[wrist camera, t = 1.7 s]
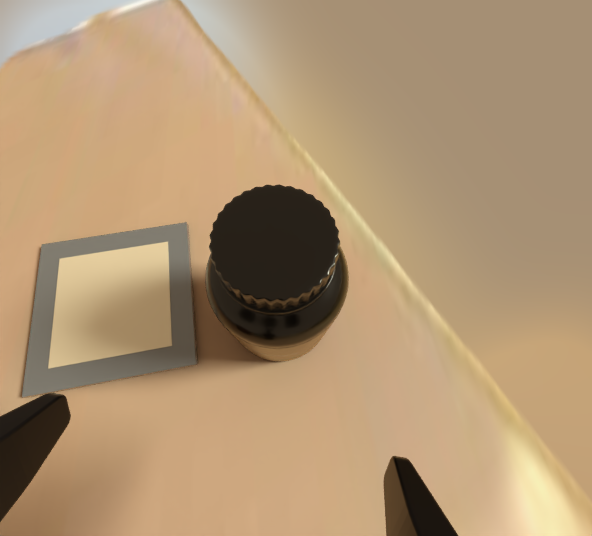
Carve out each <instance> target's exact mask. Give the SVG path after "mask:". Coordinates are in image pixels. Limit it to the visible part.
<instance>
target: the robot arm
mask: <svg viewBox="0 0 592 536" xmlns="http://www.w3.org/2000/svg"><path fill="white" fill-rule="evenodd" d="M70 417H71V415H70V411H69V407H68V402H67V399H66V397H65V396H64V395H61V394H56V393H48V394H45V395H43V396H41V397H39V398H37V399H35V400H33V401H31V402H29V403H26V404H24V405H22V406H20V407H18V408H16V409H14V410H12V411H10V412H8V413H6V414H4V415H2V416H0V522H1V520H2V519H3V518H4V516H5V515H6V514H7V513H8V511H9V510H10V509H11V507H12V506H13V505H14V503H15V502H16V501H17V500H18V498H19V497H20V496H21V494H22V493H23V492H24V490H25V489H26V488H27V486H28V485H29V483H30V482H31V481H32V479H33V478H34V476H35V475H36V473H37V472H38V470H39V469H40V467H41V466H42V464H43V462H44V461H45V459H46V458H47V456H48V455H49V453H50V452H51V450H52V449H53V447H54V446H55V444H56V442H57V441H58V439H59V438H60V436H61V435H62V433H63V432H64V430H65V429H66V427H67V425H68V423H69V421H70ZM384 500H385V517H386V535H387V536H458V534H457V533H456V531H455V530H454V528H453V527H452V525H451V524H450V522H449V520H448V519H447V517H446V516H445V514H444V513H443V511H442V510H441V508H440V507H439V505H438V503H437V502H436V500H435V499H434V497H433V496H432V494H431V493H430V491H429V490H428V488H427V486H426V485H425V483H424V482H423V480H422V479H421V477H420V476H419V474H418V473H417V471H416V469H415V468H414V466H413V465H412V463H411V462H410V461H409V460H408V459H407V458H403V457H398V456H393V457H392V458H391V459H390V462H389V465H388V467H387V470H386V472H385V475H384Z"/></svg>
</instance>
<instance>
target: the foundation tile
mask: <svg viewBox="0 0 592 536" xmlns="http://www.w3.org/2000/svg"><path fill="white" fill-rule="evenodd" d="M194 365H198V364H197V349H196V334H195V319H194V304H193V289H192V274H191V259H190V244H189V229H188V224H187V222H186V223H179V224H172V225H166V226H159V227H153V228H146V229H140V230H133V231H127V232H120V233H114V234H107V235H101V236H94V237H88V238H81V239H75V240H68V241H62V242H55V243H49V244H42V246H41V253H40V261H39V269H38V276H37V284H36V292H35V300H34V307H33V315H32V323H31V330H30V338H29V346H28V353H27V361H26V369H25V376H24V384H23V392H22V398H24V397H32V396H37V395H42V394H47V393H52V392H58V391H63V390H68V389H73V388H79V387H84V386H89V385H94V384H100V383H105V382H110V381H115V380H121V379H126V378H131V377H136V376H141V375H147V374H152V373H157V372H162V371H168V370H173V369H178V368H183V367H189V366H194Z"/></svg>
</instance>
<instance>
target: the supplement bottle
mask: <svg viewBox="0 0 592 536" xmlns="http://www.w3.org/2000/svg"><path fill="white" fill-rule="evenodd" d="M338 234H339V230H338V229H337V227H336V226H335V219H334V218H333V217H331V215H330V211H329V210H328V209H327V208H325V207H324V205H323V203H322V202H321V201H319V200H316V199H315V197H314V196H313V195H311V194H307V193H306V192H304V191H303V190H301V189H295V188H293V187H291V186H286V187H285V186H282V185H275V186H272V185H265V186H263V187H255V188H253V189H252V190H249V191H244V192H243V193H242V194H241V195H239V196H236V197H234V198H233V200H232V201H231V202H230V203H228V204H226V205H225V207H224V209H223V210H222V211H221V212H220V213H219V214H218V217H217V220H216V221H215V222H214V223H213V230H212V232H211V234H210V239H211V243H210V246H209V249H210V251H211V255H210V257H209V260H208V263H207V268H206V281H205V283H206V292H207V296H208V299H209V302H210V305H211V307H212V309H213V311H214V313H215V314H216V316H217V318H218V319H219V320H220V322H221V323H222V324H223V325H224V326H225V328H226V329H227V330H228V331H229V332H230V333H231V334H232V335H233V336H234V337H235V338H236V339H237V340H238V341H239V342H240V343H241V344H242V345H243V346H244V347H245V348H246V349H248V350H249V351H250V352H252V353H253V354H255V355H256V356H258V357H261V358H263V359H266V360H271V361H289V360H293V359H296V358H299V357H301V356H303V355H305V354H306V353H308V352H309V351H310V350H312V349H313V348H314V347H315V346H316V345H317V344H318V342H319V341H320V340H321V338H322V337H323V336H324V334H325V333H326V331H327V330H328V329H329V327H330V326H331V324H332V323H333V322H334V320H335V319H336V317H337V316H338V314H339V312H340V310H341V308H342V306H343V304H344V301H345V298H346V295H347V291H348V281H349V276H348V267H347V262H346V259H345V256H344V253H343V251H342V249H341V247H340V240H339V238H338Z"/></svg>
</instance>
